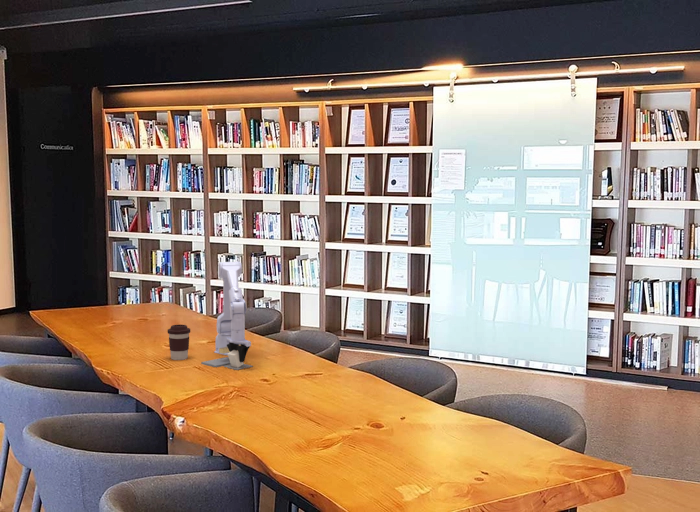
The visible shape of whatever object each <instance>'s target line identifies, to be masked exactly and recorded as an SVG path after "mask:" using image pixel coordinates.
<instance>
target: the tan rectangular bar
mask: <svg viewBox="0 0 700 512" xmlns="http://www.w3.org/2000/svg"><path fill="white" fill-rule="evenodd" d="M239 346H241V345H239ZM228 352H230V351H229V349H228V347H223V348H219V353H223V354H224V353H228ZM219 353H218V354H219ZM223 354H222V355H223Z"/></svg>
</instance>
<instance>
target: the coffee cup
mask: <svg viewBox="0 0 700 512" xmlns="http://www.w3.org/2000/svg"><path fill="white" fill-rule="evenodd" d="M190 333H191V328H190V327H188V325H186V324H173V325H171V326H170V327H169V328H168V329H167V334H168V344H169V346H168V347H169V351H170V359H171V360H173V361H183V360H187V359H188V358H189V357H188V356H189V347H190Z"/></svg>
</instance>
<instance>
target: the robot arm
mask: <svg viewBox="0 0 700 512" xmlns="http://www.w3.org/2000/svg"><path fill="white" fill-rule="evenodd" d="M242 265H243V264H242V262H241V261H240V260H238V261H219V262H218V267H217V268H218V270H217V273H218V278H219V279H222V282H223V287H222V288H223V289H222V290H223V293H222V295H223V296H222V298H223V299H222V300H223V301H222V303H223V304H222V307H223V308H222V309H223V310H222V313H220V315H218V316H217V318H216V332H217V334H216V336H215V350H214V351H213V352H214V354H219V355H222V356H223V355H224V356H228V353H224V354H223V353H219V348H223V347H228V349H229V351H230V352H231V351H233V350H236V351H238V352H239V361H240V362H246V361H245V360H246V356H247V353H248V351H249V350H250V347H252V342H251V341H250V340H247V339H246V335H245V334H246V333H245V332H246V330H245V328H246V327H245V325H246V323H245V321H246V317H245V315H246V314H247V303H246V300H245V299H244V296H243V291H242V289H241V288H240V287H239V278H240V277H241V275H242V273H243V269H242V267H243V266H242ZM239 345H241V346H239Z"/></svg>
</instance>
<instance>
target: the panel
mask: <svg viewBox="0 0 700 512" xmlns="http://www.w3.org/2000/svg"><path fill="white" fill-rule="evenodd" d="M228 353H229V352H228ZM201 365H204V366H208V367H211V368H212V367H213V368H215V367H216V368H220V367H224V366H226V365H231V363H230V360H229V357H228V356H224V357H221V358H220V357H219V358H215V359H211V360H205V361H201Z"/></svg>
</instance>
